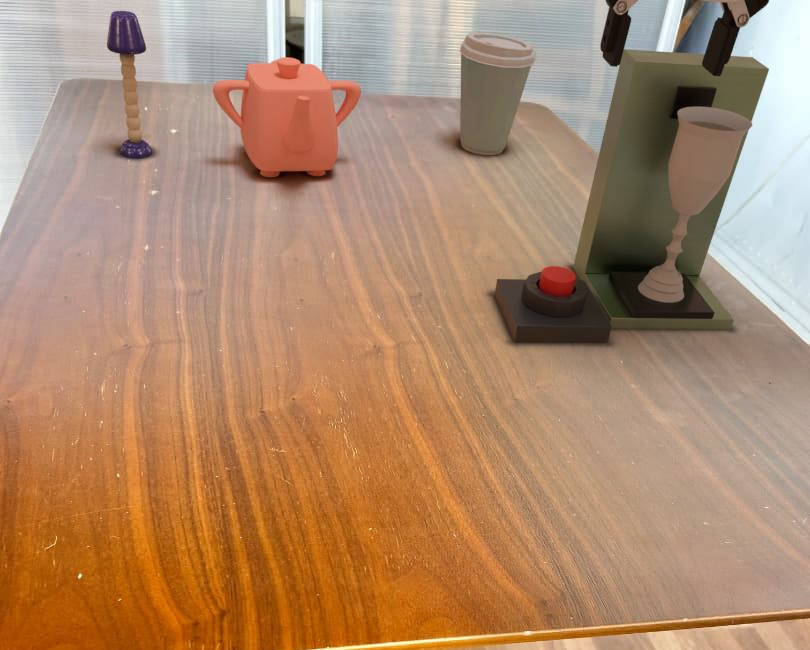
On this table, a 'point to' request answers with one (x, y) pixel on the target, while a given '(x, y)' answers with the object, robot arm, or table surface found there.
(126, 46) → the toy lamp
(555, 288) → the button
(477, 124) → the disposable coffee cup
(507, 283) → the button block
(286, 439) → the table surface
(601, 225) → the green panel on base
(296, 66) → the teapot
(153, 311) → the table surface
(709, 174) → the chalice
